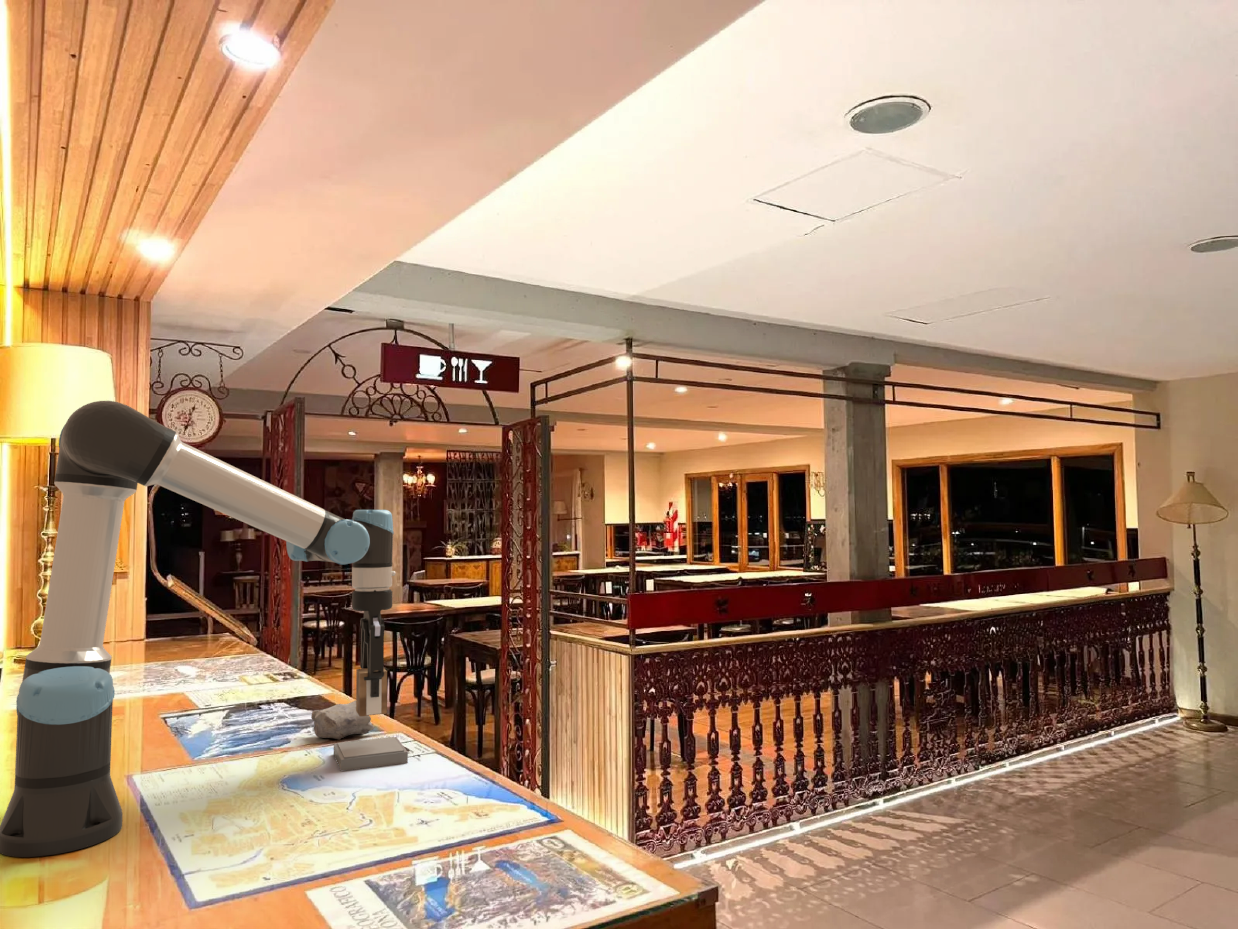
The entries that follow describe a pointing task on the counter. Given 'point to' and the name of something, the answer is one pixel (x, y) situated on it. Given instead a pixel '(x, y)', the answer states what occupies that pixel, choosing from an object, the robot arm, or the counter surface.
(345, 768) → the board
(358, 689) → the block
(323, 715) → the stone
